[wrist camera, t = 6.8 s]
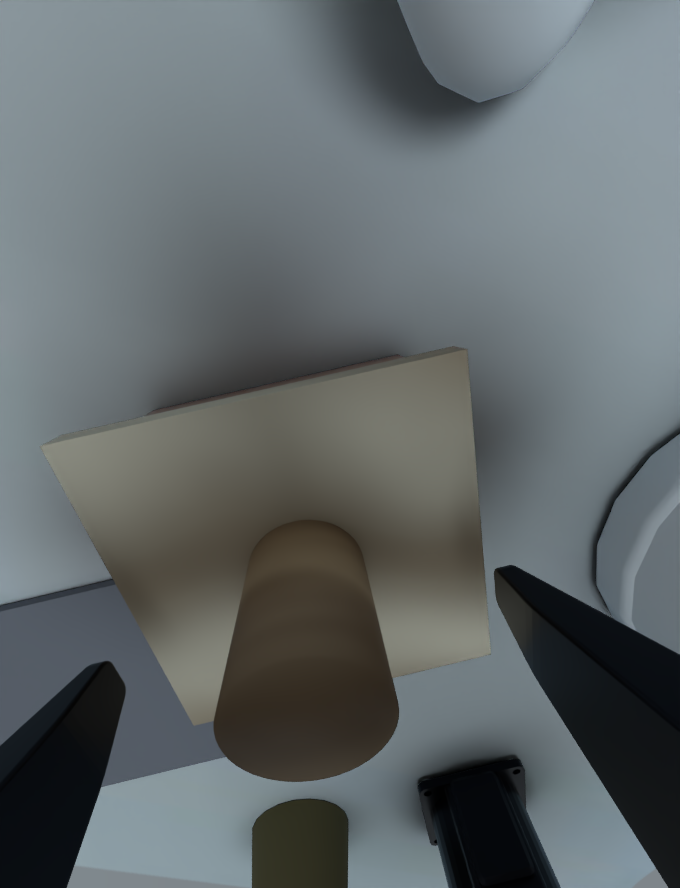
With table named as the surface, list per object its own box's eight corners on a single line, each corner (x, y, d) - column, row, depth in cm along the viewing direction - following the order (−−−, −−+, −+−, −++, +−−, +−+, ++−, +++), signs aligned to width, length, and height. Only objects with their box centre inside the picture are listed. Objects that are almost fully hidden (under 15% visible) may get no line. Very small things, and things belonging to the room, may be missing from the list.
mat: (241, 744, 19) (240, 753, 19) (22, 797, 19) (17, 807, 19) (155, 569, 15) (151, 576, 15) (-128, 635, 15) (-139, 644, 15)
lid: (479, 633, 13) (577, 813, 8) (200, 700, 12) (140, 921, 8) (453, 346, 9) (602, 378, 5) (62, 435, 9) (-189, 560, 4)
